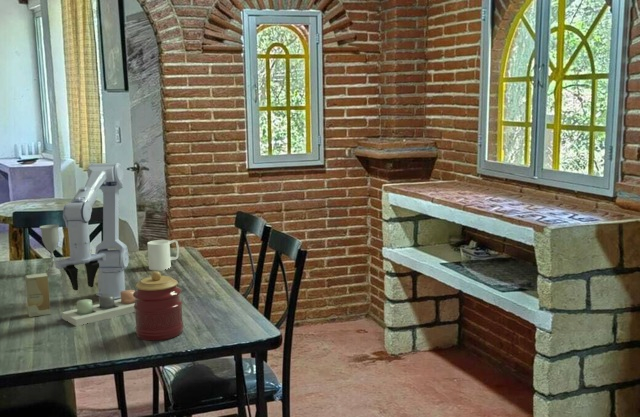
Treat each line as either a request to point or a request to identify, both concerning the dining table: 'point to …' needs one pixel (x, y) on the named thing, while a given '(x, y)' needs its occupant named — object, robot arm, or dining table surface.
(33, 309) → the skincare box
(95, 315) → the panel
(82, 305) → the sage button
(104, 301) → the charcoal button
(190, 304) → the dining table surface
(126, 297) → the terracotta button
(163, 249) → the cup
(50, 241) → the chalice
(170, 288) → the canister
